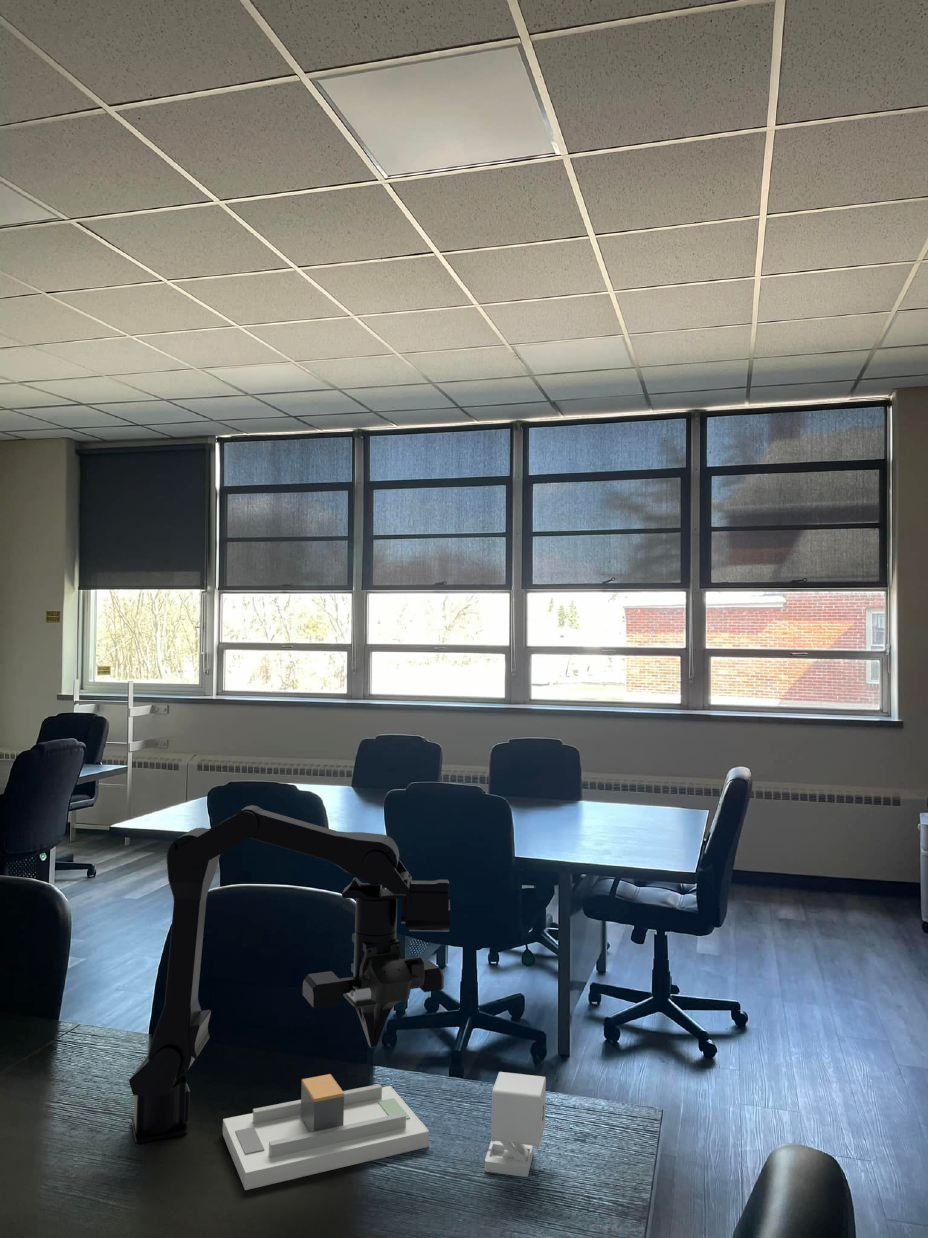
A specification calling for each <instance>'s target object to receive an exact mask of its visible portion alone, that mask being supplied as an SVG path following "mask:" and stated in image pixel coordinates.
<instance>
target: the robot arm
mask: <svg viewBox="0 0 928 1238" xmlns="http://www.w3.org/2000/svg"><path fill="white" fill-rule="evenodd" d="M248 839H250V840H254V841H257V842H261V843H264V844H268V845H271V846H275V847H278V848H281V849H285V850H289V851H292V852H294V853H295V852H296V853H299V854H301V855H302V854H303V855H307V856H309V857H313V858H317V859H320V860H324V861H326V862H329V863H331V864H333V865H335V866H336V867H338V868H340V869H341V870H342V871H343V872H345V873H347V874H349V876H350V875H351V876H352V877H353V879H352V881H351V882H350V883H349V884H348V885H347V886H346V887H344V889H343V891H342V893H341V898H342V899H355V915H354V917H355V920H354V921H355V922H354V933H351V934H352V935H351V942H352V943H353V945H354V950H353V952H354V953H353V956H354V957H353V963H351V964H350V971H351V973H353V976H350V977H342V978H339V977H338V976H337V975H336V974H335V973H334V971H331V970H329V971H321V972H315V973H308V974H307V975H306V976H305V978H304V979H303V982H302V996H303V997H304V999H306V1000H307V1002H308V1004H310V1006H311V1007H312V1008H313V1009H324V1008H331V1007H337V1006H339V1004H340V1003H341V1002H342V1001H343V1000H344V998H345V999H346V1001H348V1003H350V1005H351V1006H352V1007H353V1008H355V1010H356V1012H357V1015H358V1018H359V1020H360V1023H361V1027H362V1030H363V1032H364V1036H365V1038H366V1042H367V1044H368V1046H369V1048H377V1046H378V1044H379V1041H380V1039H381V1036H382V1033H383V1030H384V1028H385V1025H386V1022H387V1020H388V1017H389V1015H390V1014H391V1011H392V1009H393V1008H394V1007H395V1006H396V1005H397V1004H398V1003H400V1002H406V1001H408V1000H410V995H411V990H414V989H415V990H416V989H420V990H421V991H422V992H423V993H430V992H437V991H442V990H443V989H444V983H445V982H444V981H445V978H444V977H445V976H444V973H443V970H442V968H440V967H439V966H438V965H437V964H435V963H433V962H432V961H431V960H430V959H428V958H421V957H413V958H403V957H402V954H401V953H402V952H401V945H400V940H399V939H397V924H398V923H397V922H398V921H397V920H398V919H397V918H398V900H401V915H400V916H401V917H400V919H401V921H400V922H401V924H405V925H404V926H405V928H408V931H409V932H443V933H444V932H446V933H447V932H450V929H451V926H450V925H451V900H450V881H449V879H436V880H413V878H412V875H411V874H410V873H409V871H408V869H407V868H406V867H405V865H404V864H403V862H402V861H401V860H400V853H399V852H400V851H399V847H398V845H397V844H396V841H395V840H394V839H393V838H392V837H391V836H388V835H386V834H382V833H381V834H380V833H375V832H374V833H372V832H371V833H370V832H362V831H352V832H351V831H350V832H349V831H348V832H347V831H337V830H335V829H331V828H328V827H325V826H321V825H317V824H315V823H311V822H310V823H309V822H307V821H303V820H300V819H296V818H293V817H289V816H287V815H283V814H279V813H276V812H273V811H269V810H265V809H263V808H261V807H260V806H257V805H247V806H245V807H244V808H242V809H241V810H239V811H238V812H236V814H234V815H232V816H230V817H227V818H226V819H224V820H222V821H220V822H219V823H217V824H215V825H213V826H212V827H209V828H206V827H196V828H194V829H191V830H189V831H187V832H186V833H184V834H182V835H181V836H179V837H177V838H176V839H175V840H174V841H173V842H172V843H171V844H169V847H168V848H167V852H166V867H167V879H168V884H169V888H170V892H171V895H172V897H173V898H172V899H173V907H172V915H171V916H172V917H171V928H170V930H171V931H170V937H169V949H168V963H167V972H166V973H167V974H166V982H165V984H166V985H165V993H164V1004H163V1008H162V1010H161V1013H160V1016H159V1019H158V1021H157V1025H156V1027H155V1029H154V1032H153V1036H152V1040H151V1044H150V1047H149V1051H148V1055H147V1056H146V1058H145V1059H144V1060H143V1062H142V1063H141V1064H140V1065H139V1067H138V1068H137V1070H136V1071H135V1072H134V1073H133V1075H132V1076H131V1077H130V1078H129V1080H128V1083H129V1086H130V1089H131V1093H132V1096H134V1104H133V1105H134V1106H133V1107H134V1109H133V1117H132V1118H131V1122H130V1123H131V1126H132V1130H133V1135H134V1140H135V1143H136V1144H142V1143H147V1142H152V1141H157V1140H161V1139H168V1138H171V1137H177V1136H182V1135H185V1134H187V1133H188V1125H187V1123H189V1121H190V1108H191V1102H190V1101H191V1091H190V1088H189V1085H188V1084H187V1079H186V1076H185V1074H187V1072H188V1071H189V1069H190V1067H191V1066H192V1065H193V1063H194V1061H196V1059H197V1057H199V1055H200V1053H201V1051H202V1050H203V1048H204V1047H205V1045H206V1044H207V1042H208V1041H209V1039H210V1033H209V1027H208V1026H209V1021H210V1019H211V1013H212V1010H211V1009H205V1010H202V1009H201V1005H200V1002H199V985H200V976H201V975H200V974H201V964H202V953H203V951H202V950H203V941H204V940H203V939H204V931H205V930H204V929H205V920H206V908H207V898H208V894H209V891H210V888H211V886H212V883H213V880H214V877H215V875H216V872H217V869H218V868H217V867H218V864H219V860H220V856H221V855H222V854H224V853H225V852H226V851H229V850H230V849H231V848H233V847H235V846H237V845H238V844H240V843H242V842H243V841H245V840H248ZM362 881H363V882H365V883H363V882H362Z"/></svg>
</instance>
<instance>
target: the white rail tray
mask: <svg viewBox="0 0 928 1238" xmlns="http://www.w3.org/2000/svg"><path fill="white" fill-rule="evenodd" d="M342 1091H343V1092H344V1121H343V1126H339V1127H335V1128H330V1129H325V1130H321V1131H316V1132H311V1133H310V1132H309V1130H308V1128H307V1127H306V1125H305V1123H304V1122H303V1120H302V1118H301V1099H297V1100H293V1101H292V1100H291V1101H286V1102H281V1103H278V1104H272V1105H267V1106H262V1107H256V1108H252V1113H247V1114H246V1113H245V1114H242V1115H237V1116H231V1117H227V1118H223V1119H222V1136H223V1139H224V1141H225V1143H226V1146H227V1149H228V1152H229V1154H230V1156H231V1159H232V1162H233V1164H234V1166H235V1168H236V1171H237V1174H238V1177H239V1178H240V1181H241V1183H242V1186H243V1189H244V1191H249V1190H252V1189H257V1188H261V1187H265V1186H269V1185H274V1184H277V1183H282V1182H286V1181H290V1180H295V1179H299V1178H302V1177H303V1178H304V1177H307V1176H312V1175H315V1174H321V1173H324V1172H328V1171H332V1170H336V1169H340V1168H344V1167H349V1166H353V1165H358V1164H363V1163H365V1162H371V1161H375V1160H379V1159H383V1158H387V1157H391V1156H395V1155H400V1154H405V1153H408V1152H411V1151H416V1150H417V1151H418V1150H421V1149H426V1148H429V1146H430V1131H429V1130H430V1129H428V1128H427V1127H426V1125H425V1124H424V1123H423V1121H421V1120H420V1119H419V1117H418V1116H417V1114H415V1112H414V1111H413V1110H412V1109H411V1108H410V1106H408V1104H407V1103H406V1102H405V1101H404V1100H403V1098H402V1097H401V1096H400V1095H399V1094H398V1093H397V1092H396V1090H395V1089H394V1088H393V1087H392V1086H391V1085H387V1086H382V1085H381V1084H380V1083H377V1084H373V1085H368V1086H364V1087H358V1088H357V1087H356V1088H352V1089H347V1090H342Z"/></svg>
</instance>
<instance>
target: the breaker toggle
mask: <svg viewBox="0 0 928 1238" xmlns="http://www.w3.org/2000/svg"><path fill="white" fill-rule="evenodd" d="M343 1091H344V1090H342V1088H341V1086H340V1085H339V1084H338V1082H337V1081H336V1080H335V1078H334V1077H333V1075H332V1074H331V1073H328V1074H324V1075H318V1076H312V1077H308V1078H307V1077H306V1078H302V1079H301V1092H300V1093H301V1095H300V1096H301V1097H300V1098H301V1099H300V1100H301V1118H302V1120H303V1122H304V1123H305V1125H306V1127H307V1128H308V1130H309V1132H310V1133H311V1132H316V1131H321V1130H325V1129H330V1128H335V1127H339V1126H343V1121H344V1092H343Z"/></svg>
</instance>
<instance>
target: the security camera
mask: <svg viewBox="0 0 928 1238" xmlns="http://www.w3.org/2000/svg"><path fill="white" fill-rule="evenodd" d="M546 1079H547V1077H546V1076H541V1075H531V1074H523V1073H515V1072H506V1071H505V1072H503V1071H498V1074H497V1077H496V1080H495V1082H494V1086H493V1088H492V1091H491V1119H490V1120H491V1122H490V1124H491V1125H490V1126H491V1129H490V1144H489V1146H488V1150H487V1153H486V1155H485V1159H484V1171H485V1172H487V1173H492V1174H493V1173H494V1174H501V1175H508V1176H509V1175H510V1176H517V1177H518V1176H519V1177H524V1178H528V1176H529V1172H530V1169H531V1165H532V1160H533V1157H534V1147H537V1148H541V1146H542V1141H543V1136H544V1132H545V1125H546V1098H547V1097H546V1085H547V1084H546V1083H547V1081H546Z"/></svg>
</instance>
